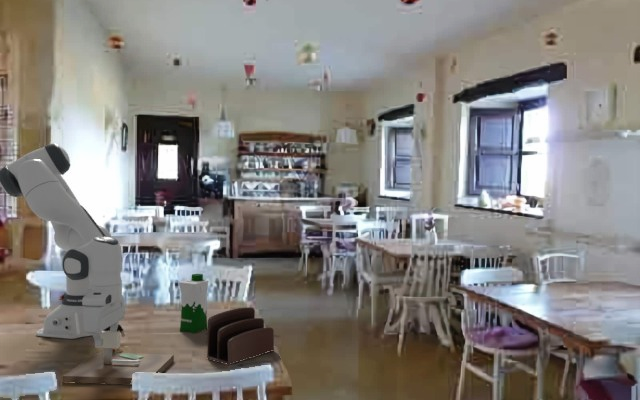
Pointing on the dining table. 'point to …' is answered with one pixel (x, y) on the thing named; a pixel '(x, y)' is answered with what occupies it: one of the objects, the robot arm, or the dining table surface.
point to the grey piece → (111, 341)
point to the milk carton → (193, 304)
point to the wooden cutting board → (117, 368)
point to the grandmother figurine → (122, 336)
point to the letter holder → (237, 336)
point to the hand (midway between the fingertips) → (105, 341)
